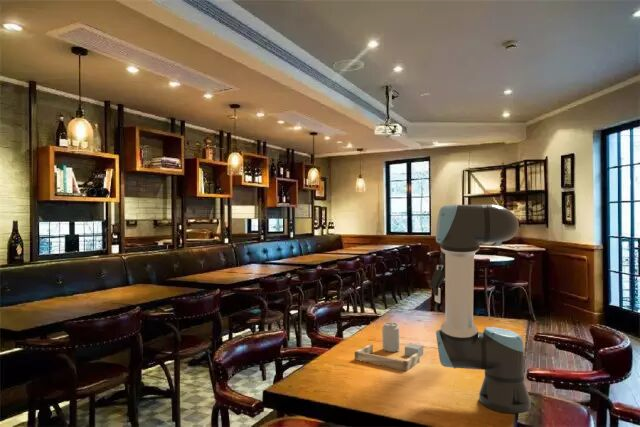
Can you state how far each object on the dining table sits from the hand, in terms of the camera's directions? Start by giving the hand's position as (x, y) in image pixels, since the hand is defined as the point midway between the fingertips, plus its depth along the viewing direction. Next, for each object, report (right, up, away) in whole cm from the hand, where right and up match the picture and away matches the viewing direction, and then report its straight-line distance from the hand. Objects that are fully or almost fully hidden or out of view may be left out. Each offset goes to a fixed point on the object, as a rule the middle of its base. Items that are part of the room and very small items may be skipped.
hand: (449, 298), depth 185 cm
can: (-24, -25, +8) cm, 36 cm away
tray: (-28, -25, -7) cm, 38 cm away
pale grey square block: (-15, -25, +1) cm, 29 cm away
